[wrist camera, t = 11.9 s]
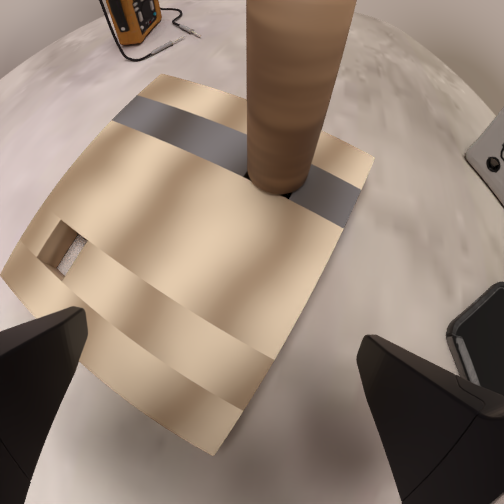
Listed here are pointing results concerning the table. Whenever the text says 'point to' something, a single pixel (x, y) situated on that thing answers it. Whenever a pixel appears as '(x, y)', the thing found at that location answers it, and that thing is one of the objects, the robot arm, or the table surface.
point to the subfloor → (184, 254)
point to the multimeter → (137, 22)
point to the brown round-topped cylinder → (290, 84)
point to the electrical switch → (490, 155)
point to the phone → (480, 340)
